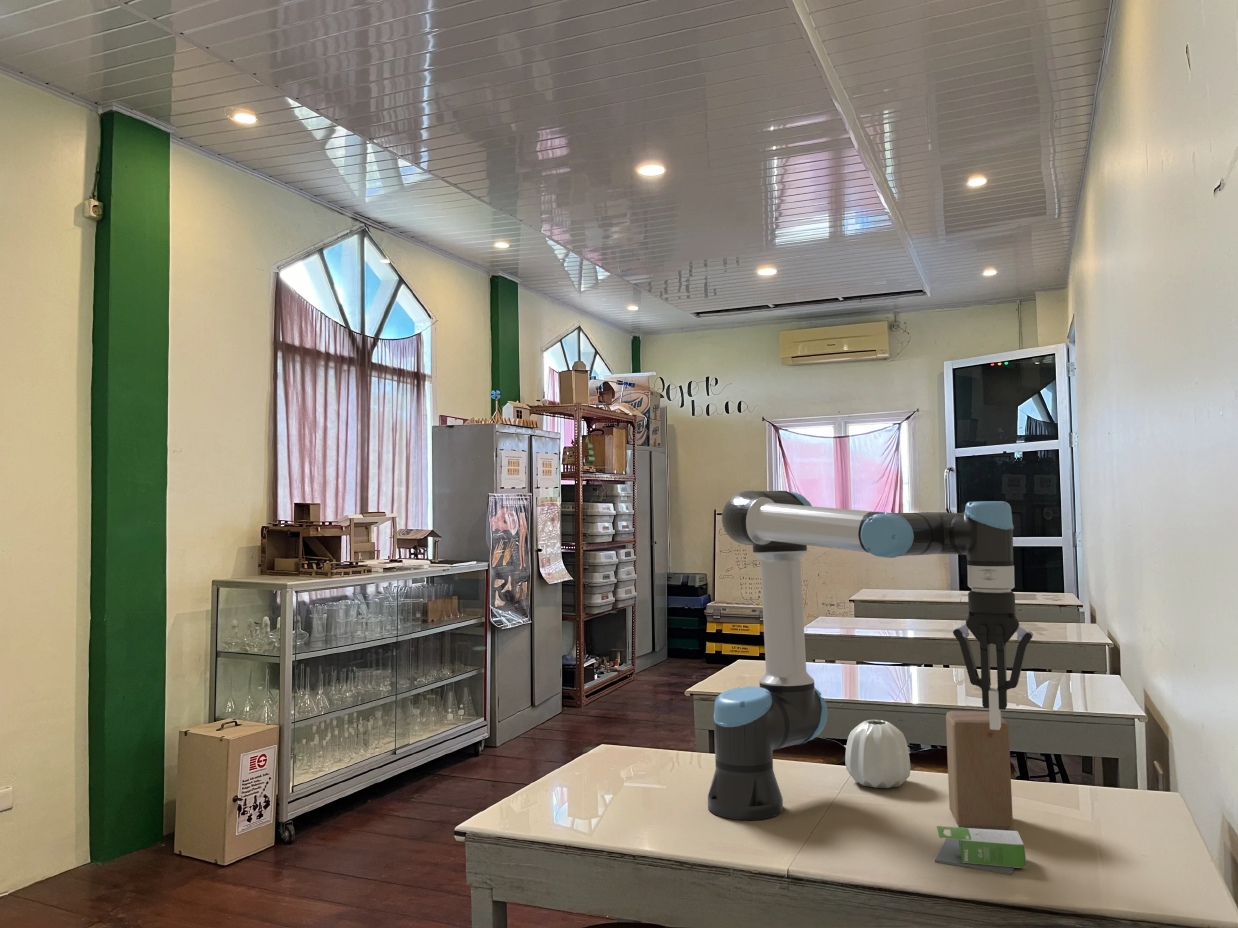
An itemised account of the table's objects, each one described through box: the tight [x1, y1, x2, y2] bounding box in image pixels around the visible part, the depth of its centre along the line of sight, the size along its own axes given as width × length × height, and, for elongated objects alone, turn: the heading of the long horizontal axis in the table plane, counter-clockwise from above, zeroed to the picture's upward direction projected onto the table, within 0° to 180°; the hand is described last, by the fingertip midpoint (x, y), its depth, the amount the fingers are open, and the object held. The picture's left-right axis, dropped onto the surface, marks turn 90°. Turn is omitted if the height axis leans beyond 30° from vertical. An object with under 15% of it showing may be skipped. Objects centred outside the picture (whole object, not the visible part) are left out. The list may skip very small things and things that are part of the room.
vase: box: [844, 719, 911, 789], centre depth 196 cm, size 14×14×13 cm
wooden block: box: [945, 710, 1014, 831], centre depth 171 cm, size 10×10×20 cm
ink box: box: [936, 825, 1027, 869], centre depth 151 cm, size 7×4×13 cm
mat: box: [934, 838, 1015, 876], centre depth 153 cm, size 12×12×1 cm
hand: (995, 727), depth 153 cm, fingers closed
